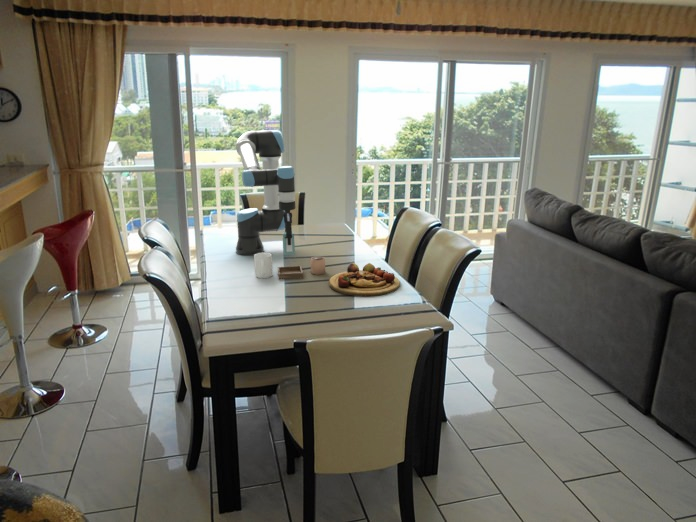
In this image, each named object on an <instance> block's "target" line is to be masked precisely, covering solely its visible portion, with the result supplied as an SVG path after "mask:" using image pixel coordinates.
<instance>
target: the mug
mask: <svg viewBox="0 0 696 522" xmlns="http://www.w3.org/2000/svg"><path fill="white" fill-rule="evenodd" d="M253 263H254V275H255V277H256V278H259V279H267V278H270V277H271V278H272V276H273V255H272V253H270V252H262V253H257V254H254V255H253Z"/></svg>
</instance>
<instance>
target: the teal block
mask: <svg viewBox="0 0 696 522" xmlns="http://www.w3.org/2000/svg"><path fill="white" fill-rule="evenodd" d="M285 237H286V232H285V231H282V247H283V255H284V256H289V255H290V256H292V255H296V248H295V232H294V231H293V230H292V251H293V252H287V249H286V238H285Z"/></svg>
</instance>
